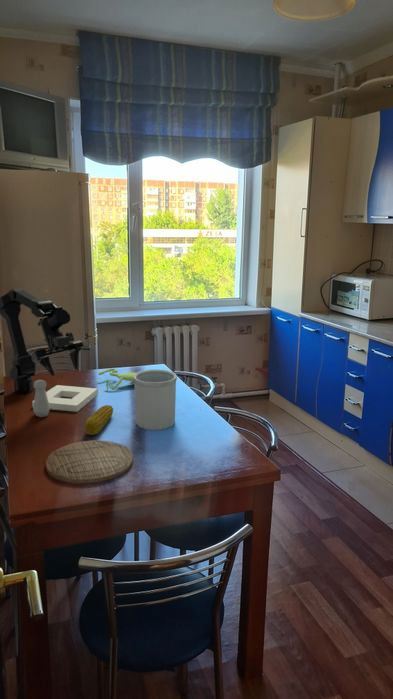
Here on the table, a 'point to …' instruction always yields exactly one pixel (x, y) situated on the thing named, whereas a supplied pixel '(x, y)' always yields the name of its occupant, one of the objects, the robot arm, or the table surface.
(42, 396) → the salt shaker
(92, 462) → the trivet
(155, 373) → the utensil holder
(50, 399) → the socket board
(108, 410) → the food
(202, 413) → the table surface
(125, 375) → the figurine
